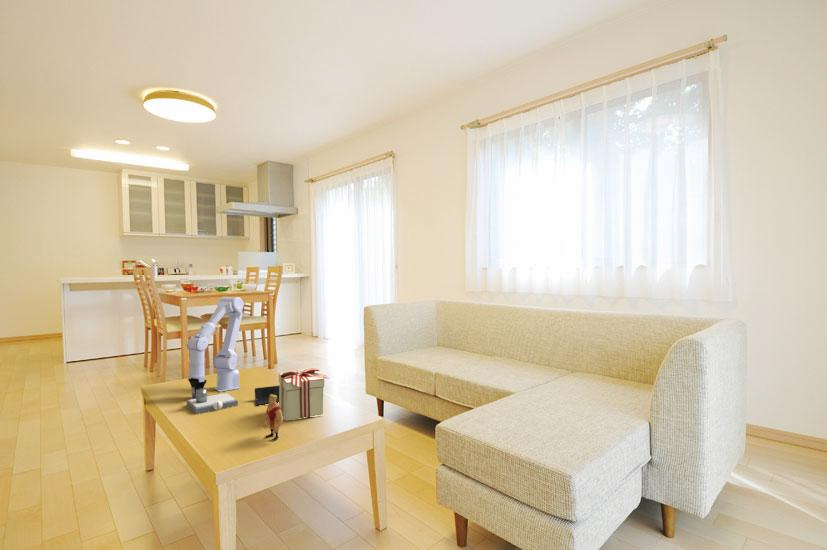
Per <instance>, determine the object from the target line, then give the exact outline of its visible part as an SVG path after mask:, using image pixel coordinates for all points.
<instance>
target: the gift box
mask: <svg viewBox="0 0 827 550" xmlns="http://www.w3.org/2000/svg"><path fill="white" fill-rule="evenodd" d="M319 371H320V369H318V368H315V367H313V368H312V367H311V368H310V369H304V370H302V371H294V370H293V371H288V372H287V371H286V372H283V373H279V374H278V382H279V385H278V386H279V404H278V406H279V407H280V408H281V412H282V416H283V419H284V418H285V419H284V421H285V420H286V421H285V422H288V421H287V420H293V419H298V418H304V417H310V416H315V415H321V414H323V415H324V387H325V379H329V377H328V376H327V375H325V374H320V373H318V372H319ZM293 421H294V420H293Z"/></svg>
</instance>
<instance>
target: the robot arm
mask: <svg viewBox="0 0 827 550" xmlns="http://www.w3.org/2000/svg"><path fill="white" fill-rule="evenodd" d="M244 305H245V303H244V301H243V299H242V298H241V297H238V296H236V297H235V296H231V297H230V296H222V297H220V299H219V300H218V302H217V307H216V308H215V310H214V311H213V313H212V315H211V316H210V318H209V320H208V321H207V322H204V323H203V324H202V325H201V326H200V328H199V330H198V331H197V332H196V334H195V335H194V336H193V337H191V338H189V339H188V342H187V344H186V348H187V349H188V353H189V374H187V375H186V378H187V380H188V382H189V384H190V387H191V389H192V387H194V389H195V395H196V390H197V389H200V388H205V385H206V383H207V380H208V379H205V376H206V373H205V372H206V371H205V355H206V353H205V352H206V349H207V348H208V346H209V341H210V339H211V337H212V336H213V334H214V333H215V331H216V325H217V324H218V323H219V322H220V320H221V319H222V318H223V317H224V315H225V314H227V316H228V317H229V318H228V323H227V327H226V331H225V335H224V338H223V339H224V340H223V343H222V348H221V349H220V350H219V351H218V352H217V353H216V356H215V357H214V359H213V362H212V364H213V367H214V369H215V371H216V386H215V387H214V388H213V389H215V390H216V391H217V392H219V393H221V392H227V391H232V390H238V389H240V372H239V369H238V368H237V367H238V366H237V365H238V356H239V355H238V354H237V353H236V351H235V349H236V345H237V344H236V343H237V339H238V336H239V332H240V331H239V330H240V327H241V322H242V318H243V310H244V309H243V308H244Z"/></svg>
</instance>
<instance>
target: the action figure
mask: <svg viewBox="0 0 827 550" xmlns="http://www.w3.org/2000/svg"><path fill="white" fill-rule="evenodd" d="M276 398H277V396H276V395H272V394H270V396H269V405H267V407H266V410H265V411H266V415H265V420H264V422H263V426H262V428H263V429H267V428H269V430H270V434H267V435H265V436H266V437H265V438H268V437H267V436H270V437H273V438H272V439H271V441H272V440H275V439H277V438H278V439H279V436H278V435H279V430H280V427H281V425H282V424H283V422H284V417H283V416H282V412H281V408H280V407H279V404H277V403H276ZM276 419H277V420H278V421H277V425H276ZM268 421H269V427H268ZM273 435H274V436H273ZM278 439H277V440H278ZM275 441H276V440H275Z"/></svg>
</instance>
